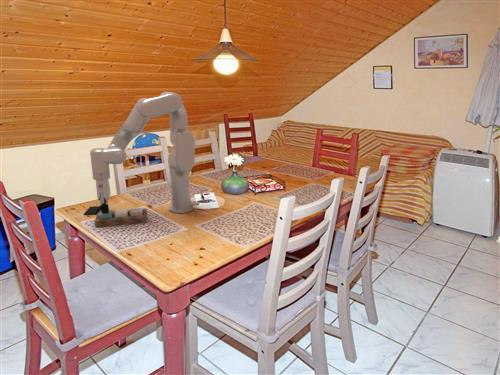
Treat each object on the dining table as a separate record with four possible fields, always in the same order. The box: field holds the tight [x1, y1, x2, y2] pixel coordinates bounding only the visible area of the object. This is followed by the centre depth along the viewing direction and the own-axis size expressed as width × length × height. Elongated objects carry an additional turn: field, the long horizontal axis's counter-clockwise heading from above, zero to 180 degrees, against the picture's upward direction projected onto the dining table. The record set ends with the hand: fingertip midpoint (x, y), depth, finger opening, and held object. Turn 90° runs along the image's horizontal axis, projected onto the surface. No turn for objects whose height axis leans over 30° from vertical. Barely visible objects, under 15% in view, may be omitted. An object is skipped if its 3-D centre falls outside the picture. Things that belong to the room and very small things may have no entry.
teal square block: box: [99, 209, 114, 219], centre depth 181 cm, size 6×6×2 cm
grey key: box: [130, 207, 144, 216], centre depth 184 cm, size 6×6×2 cm
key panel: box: [94, 208, 148, 228], centre depth 183 cm, size 23×12×3 cm, turn 104°
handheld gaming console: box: [83, 204, 101, 216], centre depth 195 cm, size 12×7×10 cm
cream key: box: [114, 208, 129, 218], centre depth 182 cm, size 6×6×2 cm
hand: (105, 212), depth 180 cm, fingers closed
